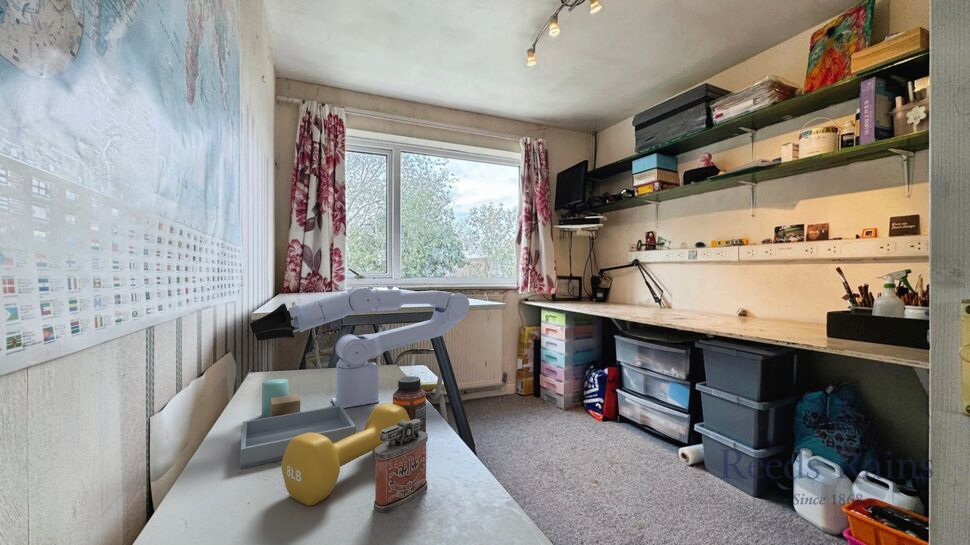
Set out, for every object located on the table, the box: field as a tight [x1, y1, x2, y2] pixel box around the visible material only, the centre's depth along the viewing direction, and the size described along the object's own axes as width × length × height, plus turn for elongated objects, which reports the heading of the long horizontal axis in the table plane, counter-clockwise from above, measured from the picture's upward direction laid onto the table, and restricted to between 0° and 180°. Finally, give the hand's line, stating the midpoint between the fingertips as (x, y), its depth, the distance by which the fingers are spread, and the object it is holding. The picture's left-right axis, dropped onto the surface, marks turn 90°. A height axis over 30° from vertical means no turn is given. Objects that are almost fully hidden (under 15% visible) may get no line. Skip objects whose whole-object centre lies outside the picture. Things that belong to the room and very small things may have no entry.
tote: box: [240, 405, 357, 470], centre depth 67 cm, size 17×13×3 cm
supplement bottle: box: [392, 375, 427, 433], centre depth 67 cm, size 6×6×11 cm
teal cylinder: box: [261, 378, 290, 418], centre depth 80 cm, size 5×5×7 cm
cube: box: [271, 393, 301, 417], centre depth 75 cm, size 5×5×5 cm
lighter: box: [373, 419, 429, 515], centre depth 49 cm, size 8×3×10 cm, turn 141°
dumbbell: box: [280, 402, 410, 506], centre depth 56 cm, size 19×9×8 cm, turn 148°
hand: (253, 332), depth 78 cm, fingers open, 7 cm apart
